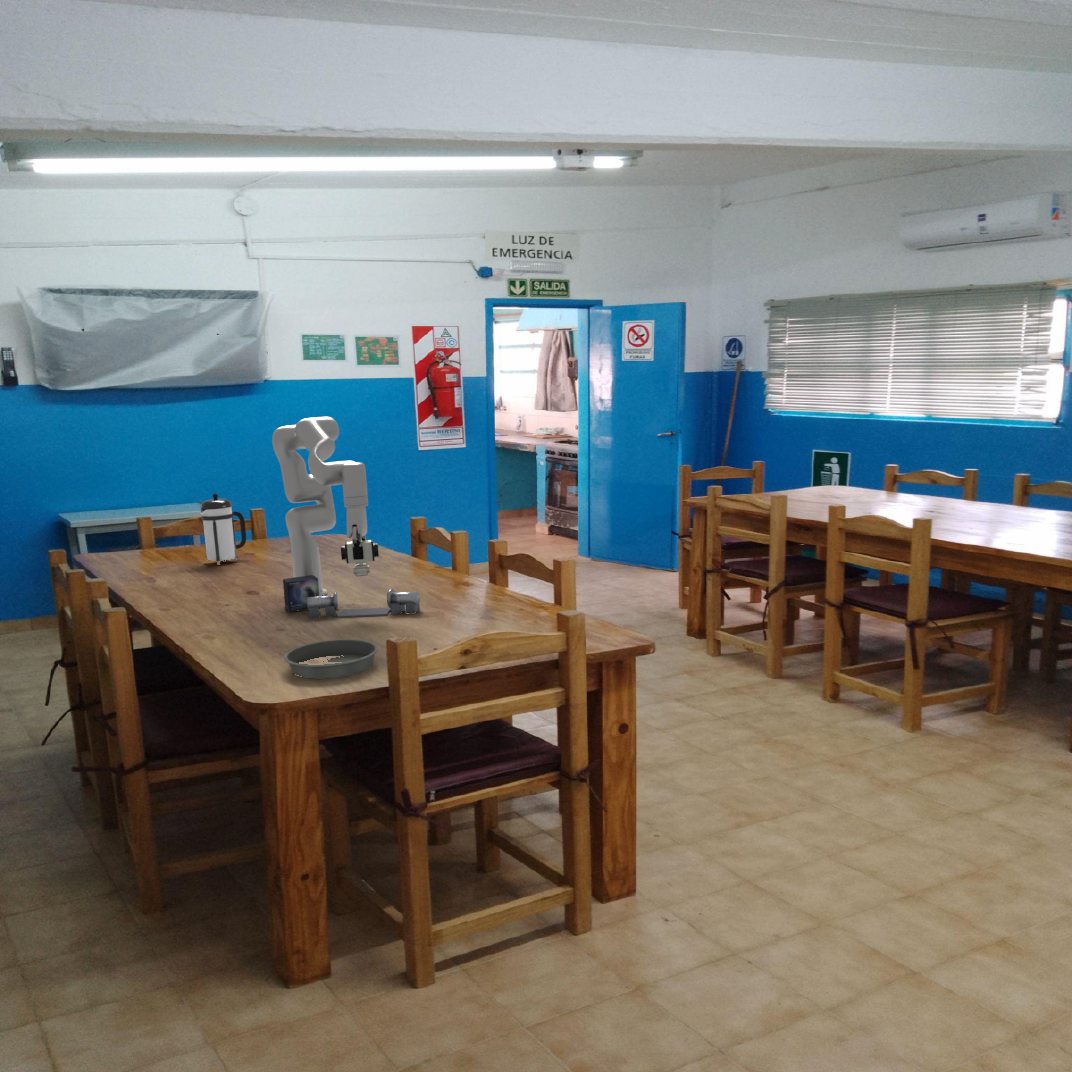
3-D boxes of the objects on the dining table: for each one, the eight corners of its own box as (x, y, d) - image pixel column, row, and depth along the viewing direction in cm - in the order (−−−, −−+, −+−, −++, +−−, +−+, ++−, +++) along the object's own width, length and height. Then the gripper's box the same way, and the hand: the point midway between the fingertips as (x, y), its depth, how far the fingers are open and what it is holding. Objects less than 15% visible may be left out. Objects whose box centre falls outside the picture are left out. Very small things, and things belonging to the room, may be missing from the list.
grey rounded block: (388, 614, 330) (386, 591, 328) (394, 610, 335) (392, 587, 334) (416, 614, 328) (414, 591, 327) (421, 609, 334) (420, 587, 332)
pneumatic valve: (380, 575, 330) (377, 538, 328) (343, 578, 328) (339, 541, 326) (380, 571, 335) (376, 535, 333) (343, 575, 333) (340, 538, 331)
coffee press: (236, 565, 432) (229, 494, 427) (199, 567, 433) (191, 496, 428) (248, 557, 449) (242, 489, 445) (212, 559, 450) (205, 491, 445)
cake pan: (268, 681, 264) (267, 664, 264) (308, 654, 288) (307, 638, 287) (359, 682, 259) (357, 665, 258) (392, 655, 283) (391, 639, 282)
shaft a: (308, 619, 329) (306, 596, 328) (309, 614, 335) (307, 592, 334) (338, 616, 330) (336, 593, 329) (338, 612, 336) (336, 589, 335)
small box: (289, 613, 339) (286, 581, 338) (284, 609, 345) (281, 578, 343) (321, 608, 344) (318, 577, 342) (315, 604, 350) (312, 574, 348)
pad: (337, 617, 329) (337, 616, 329) (343, 611, 338) (343, 609, 337) (386, 615, 328) (386, 613, 328) (391, 609, 337) (391, 607, 337)
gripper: (349, 498, 336) (354, 553, 339) (338, 505, 319) (343, 563, 322) (372, 497, 336) (376, 552, 339) (362, 504, 319) (367, 562, 322)
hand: (360, 557), depth 330 cm, fingers closed on pneumatic valve, 5 cm apart
